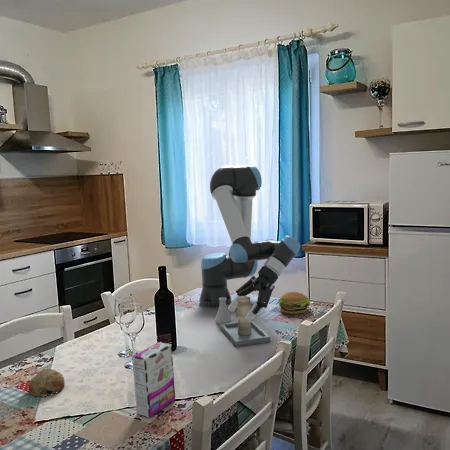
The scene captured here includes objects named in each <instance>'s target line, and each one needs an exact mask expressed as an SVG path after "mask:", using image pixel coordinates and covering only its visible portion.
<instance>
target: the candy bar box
mask: <svg viewBox="0 0 450 450" xmlns="http://www.w3.org/2000/svg"><path fill="white" fill-rule="evenodd" d="M131 360H132V368H133V369H132V371H133V381H134V392H135V403H136V404H135V406H136V407H135V408H136V414H137V415H139V416H140V417H141V416H142V417H145V418H148V419H151V418H153V417H154V416H156V414H158V413H160V412H161V411H162V410H163V409H165V408H166V407H168V406H169V405H171V403H173V402H174V401H176V393H175V392H176V390H175V388H176V387H175V376H174V361H173V347H172V344H170V343H167V342H162V341H158V342H157V343H154V344H152V345H150V346H149V347H147V348H145V349H143V350H141V351H140V352H137V353H136V354H134V355H132V359H131Z"/></svg>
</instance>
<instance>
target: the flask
mask: <svg viewBox="0 0 450 450" xmlns="http://www.w3.org/2000/svg"><path fill="white" fill-rule="evenodd" d="M219 301H220V305H219V307H218V310H217V313H216V317H215V320H214V322H215V324H218V325H221V324H225V323H233V320H232V318H231V315H230V312H229V309H228V307H227V306H228V305H227V306H226V298H219Z"/></svg>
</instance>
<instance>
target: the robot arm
mask: <svg viewBox="0 0 450 450" xmlns="http://www.w3.org/2000/svg"><path fill="white" fill-rule="evenodd" d="M262 181H263V180H262V175H261V173H260V170H259V169H258V167H257V166H256V165H252V164H250V165H249V164H243V165H225V166H220V167H219V168H217V169H216V170H215V171H214V173H213V174H212V176H211V178H210V182H209V191H210V194H211V197H212V199H213V200H215V201H216V203H217V206H218V209H219V212H220V215H221V217H222V220H223V222H224V224H225V228H226V230H227V233H228V235H229V238H230V241H231V243H232V244H231V246H230V248H229V249H228V254H226V252H213V253H212V252H211V253H209V254H206V255H204V256H203V257H202V258H201V264H200V267H201V281H202V282H201V283H202V289H201V292H200V295H199V301H198V302H199V305H200V306H202V307H205V308H219V305H220V301H219V298H226V306H228V307H227V309H228V311H230V313H231V312H232V313H234V312H235V310H237V297H240V296H248V295H250V294H251V293H253V292H258V294H257V301H256V302H255V303H254V304H253V305H252V307H251V310H250V311H249V312H248V314H247V315H246V316H245V319H246V320H248V321H249V322H251V321H253V319H254V318H255V317H256V315H258V313H259V312H260V310H261V309H263V308H264V309H266V308H267V307H268V305H269V303H270V298H271V296H272V293H273V291H274V289H275V287H276V286H275V284H276V282H277V280H278V279H279V276H281V275H282V273H283V272H284V271H285V269H286V267H288V265H289V264H290V263H291V261H292V260H293V258H294V257H295V256H297V253H298V252H299V250H300V249H301V244H300V242H299V241H298V240H297V239H295V238H294V237H293V236H291V235H285V236H284V237H283V238H281V240H275V239H272V238H271V239H264V240H263V241H262V240H261V241H251V240H252V239H251V237H252V217H253V199H254V198H255V197H256V196H257V191H259V190H260V189H261V187H262V183H263V182H262ZM263 260H266V261H265V262H264V265H262V266H261V268H260V269H259V271H258V272H257V270H258V262H259V261H263ZM255 273H257V275H258V276H257V277H256V276H254V275H255ZM248 277H250V278H249V280H247V281H246V282H245V283H244V284H242V285H241V286H240V287H239V288H238V289H236V290H235V293H236V296H235V297H234V299H233V300H232V296H231V293H230V291H229V288H228V281H229V280H234V279H235V280H236V279H242V278H244V279H245V278H248Z"/></svg>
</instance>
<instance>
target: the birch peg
mask: <svg viewBox="0 0 450 450" xmlns="http://www.w3.org/2000/svg"><path fill="white" fill-rule="evenodd" d="M251 308H252V307H251V297H250V296H248V295H246V296H240V297H237V308H236V310H237V311H236V312H237V313H236V314H237V322H238V335H241V336H248V335H250V334H251V322H249V321H248V320H246V319H245V316H246V315H247V314H248V312H249V311H250V310H251Z"/></svg>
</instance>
